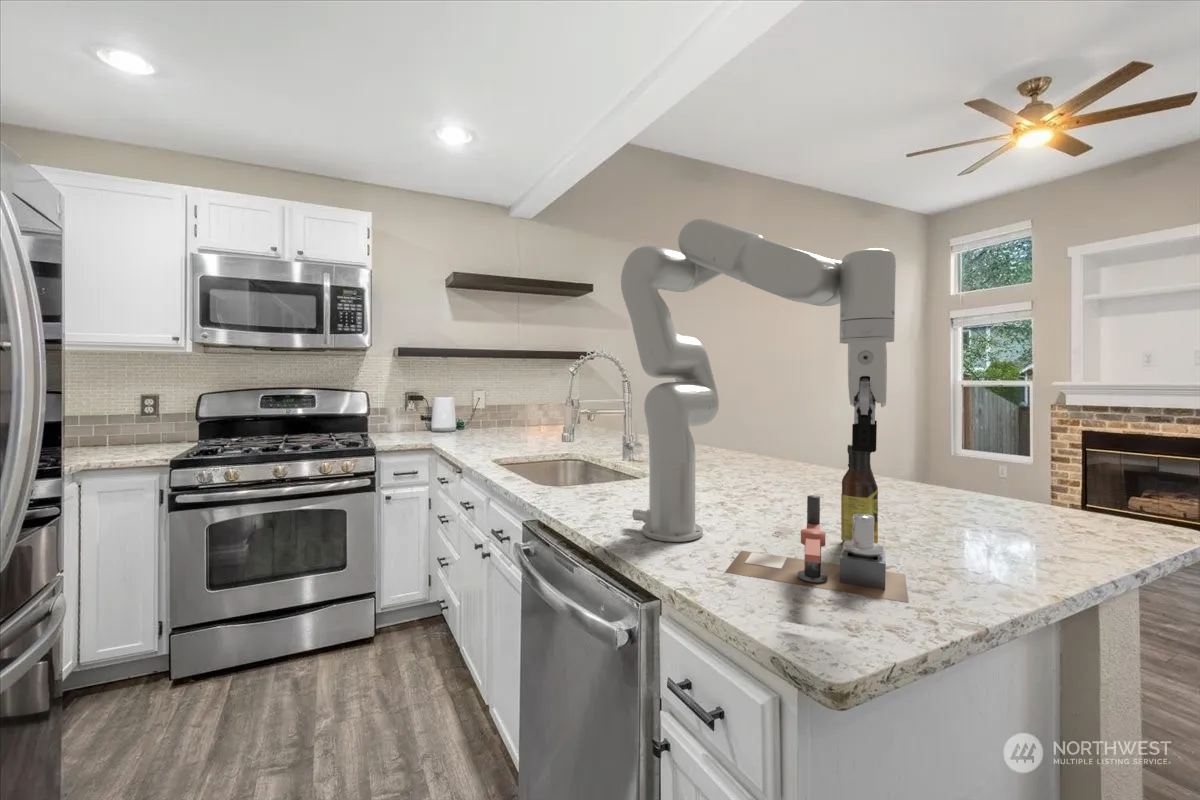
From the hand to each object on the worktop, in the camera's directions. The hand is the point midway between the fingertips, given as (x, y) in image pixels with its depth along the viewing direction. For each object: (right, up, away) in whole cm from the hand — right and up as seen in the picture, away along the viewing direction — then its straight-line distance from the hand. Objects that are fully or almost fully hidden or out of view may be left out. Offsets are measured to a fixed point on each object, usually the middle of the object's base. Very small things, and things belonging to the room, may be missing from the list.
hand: (864, 447), depth 82 cm
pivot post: (-8, -22, +2) cm, 23 cm away
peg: (0, -21, +1) cm, 21 cm away
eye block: (0, -22, +1) cm, 22 cm away
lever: (-8, -15, +1) cm, 17 cm away
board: (-6, -22, +4) cm, 23 cm away
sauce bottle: (+8, -21, +18) cm, 29 cm away
